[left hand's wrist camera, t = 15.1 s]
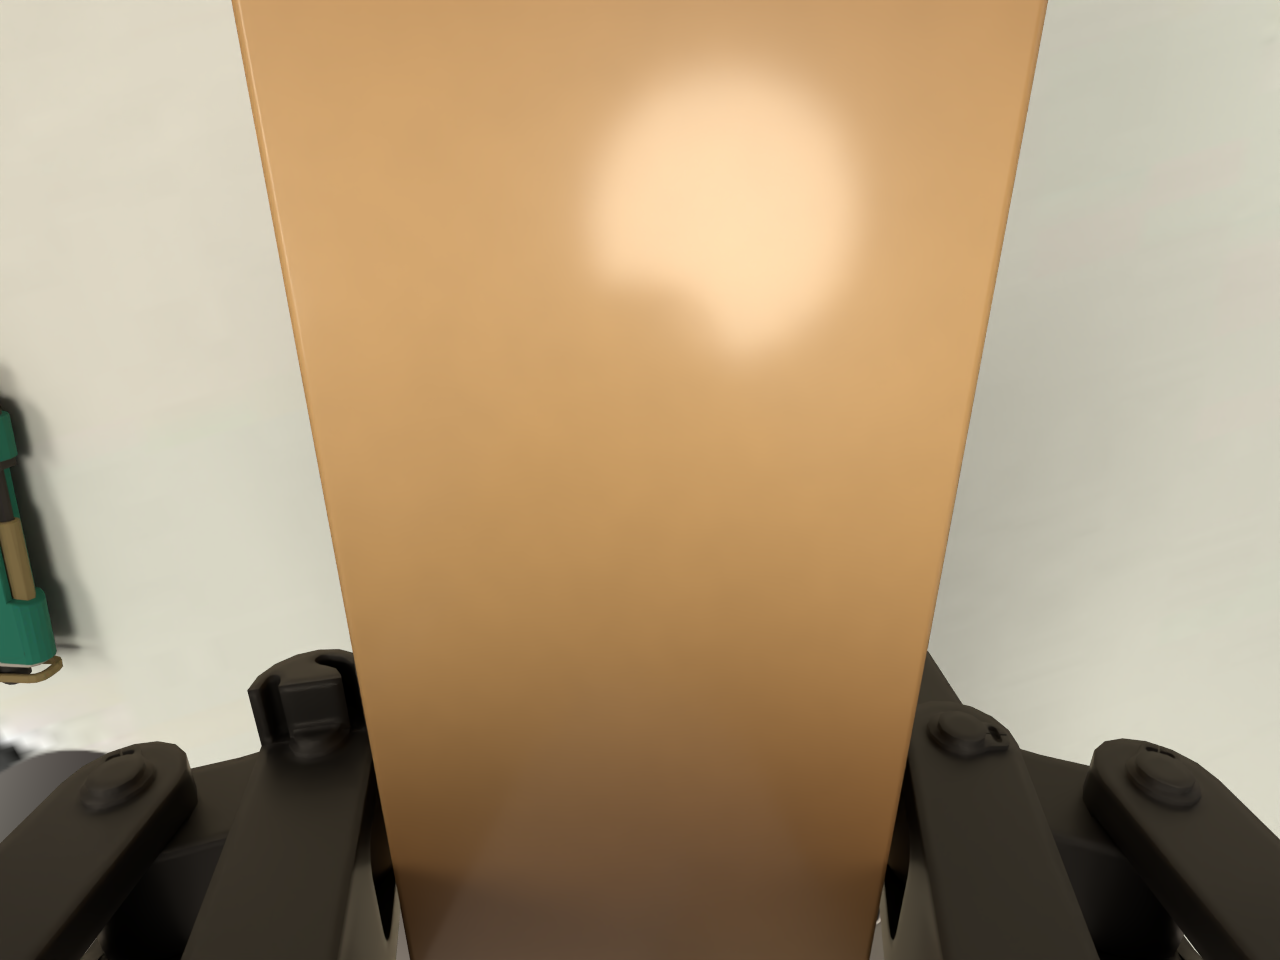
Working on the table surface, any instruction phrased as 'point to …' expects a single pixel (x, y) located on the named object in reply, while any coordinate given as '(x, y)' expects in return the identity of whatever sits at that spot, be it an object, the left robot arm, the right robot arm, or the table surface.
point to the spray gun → (19, 586)
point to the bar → (639, 435)
